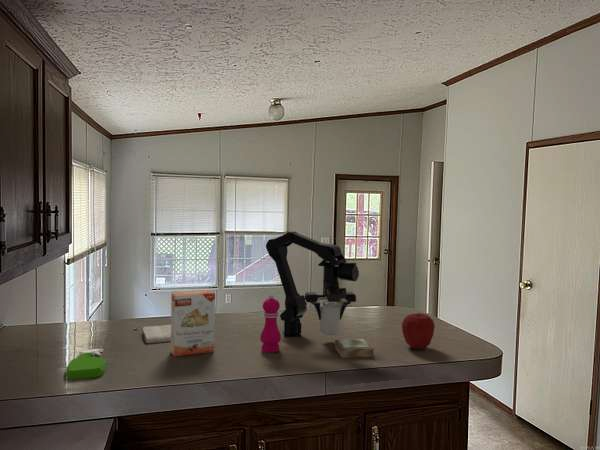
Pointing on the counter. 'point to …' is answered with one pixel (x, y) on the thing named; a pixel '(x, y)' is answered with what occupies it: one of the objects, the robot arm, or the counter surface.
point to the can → (330, 318)
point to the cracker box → (192, 322)
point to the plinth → (354, 348)
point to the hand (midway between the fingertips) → (329, 319)
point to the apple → (418, 330)
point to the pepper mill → (270, 326)
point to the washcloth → (157, 333)
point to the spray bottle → (86, 365)
